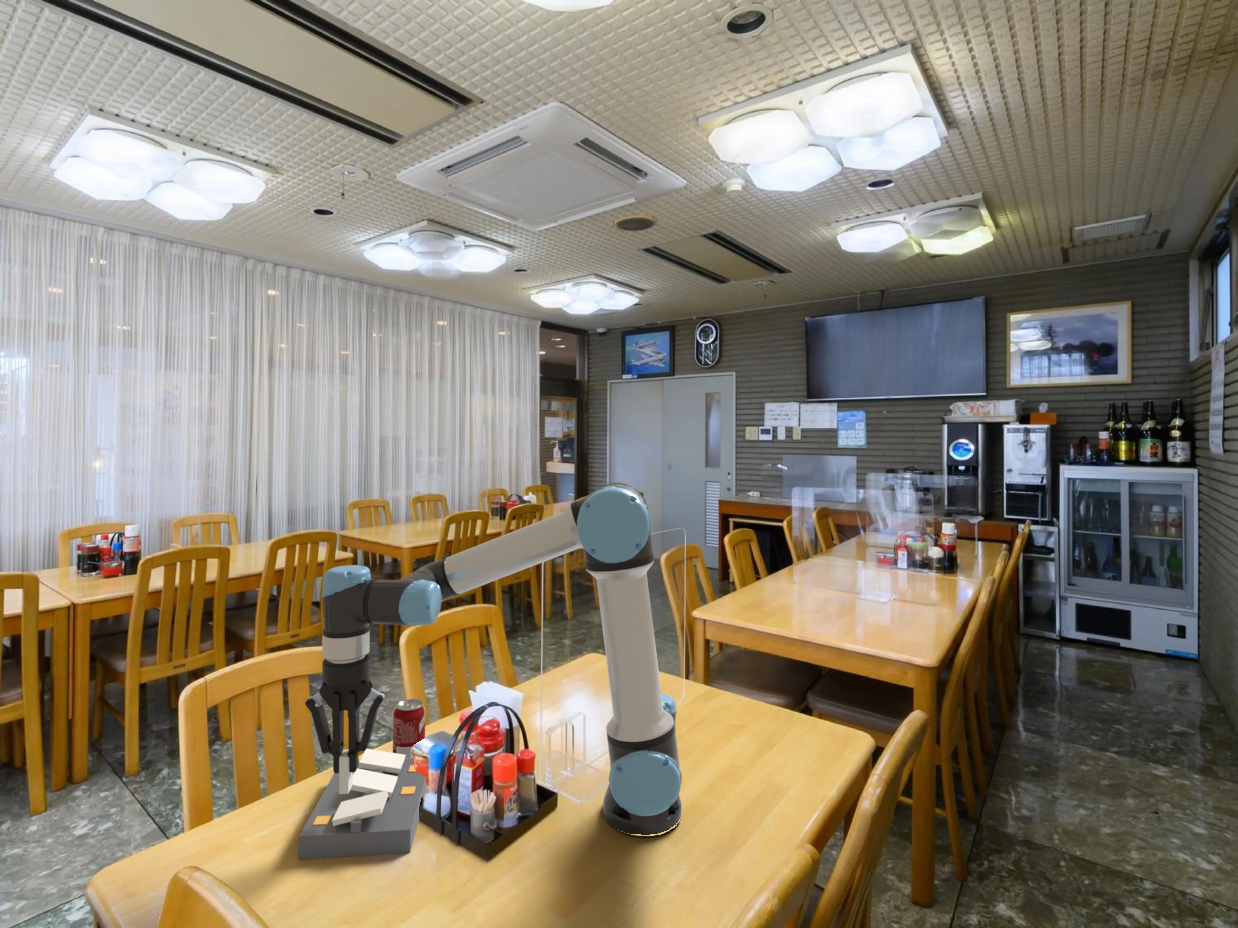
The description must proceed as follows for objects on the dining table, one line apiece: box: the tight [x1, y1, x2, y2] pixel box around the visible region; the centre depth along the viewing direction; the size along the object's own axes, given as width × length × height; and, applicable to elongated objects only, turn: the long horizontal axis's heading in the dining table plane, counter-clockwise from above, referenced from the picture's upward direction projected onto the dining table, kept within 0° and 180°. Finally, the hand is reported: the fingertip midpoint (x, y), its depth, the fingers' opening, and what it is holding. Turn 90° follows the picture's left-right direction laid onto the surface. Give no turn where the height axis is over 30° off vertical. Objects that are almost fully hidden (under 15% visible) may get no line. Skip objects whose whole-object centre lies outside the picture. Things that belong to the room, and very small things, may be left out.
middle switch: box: [350, 768, 398, 798], centre depth 117 cm, size 8×6×2 cm
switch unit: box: [297, 759, 427, 861], centre depth 117 cm, size 18×24×6 cm
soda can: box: [392, 698, 427, 760], centre depth 138 cm, size 7×7×12 cm
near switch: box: [332, 791, 388, 826], centre depth 109 cm, size 8×6×2 cm
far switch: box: [358, 748, 406, 774], centre depth 124 cm, size 8×6×2 cm
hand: (345, 789), depth 108 cm, fingers closed
